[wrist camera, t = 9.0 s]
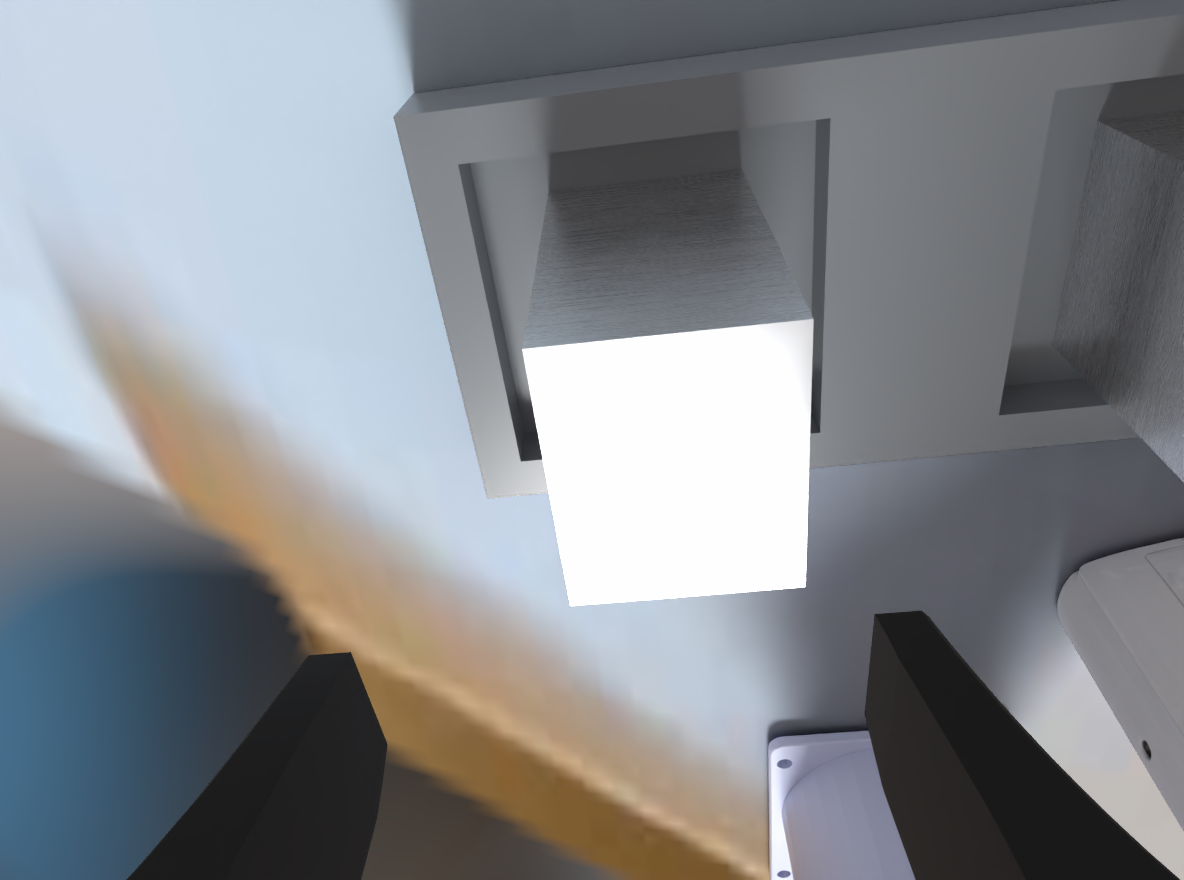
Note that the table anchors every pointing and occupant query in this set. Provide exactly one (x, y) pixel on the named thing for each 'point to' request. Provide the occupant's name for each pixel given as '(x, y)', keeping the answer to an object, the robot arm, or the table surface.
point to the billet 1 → (670, 390)
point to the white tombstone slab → (1136, 651)
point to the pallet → (820, 213)
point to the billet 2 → (1131, 279)
